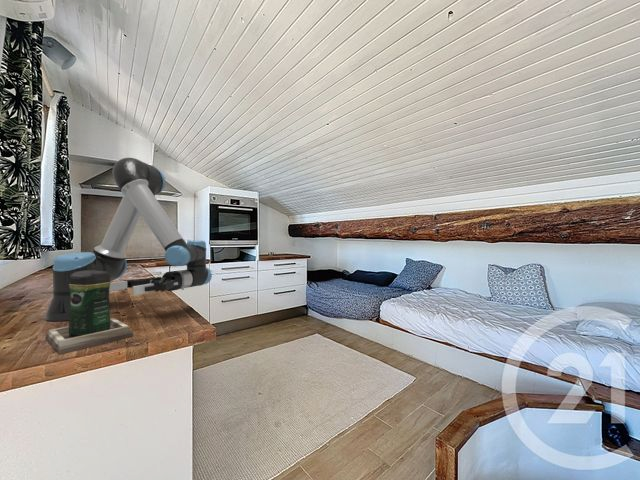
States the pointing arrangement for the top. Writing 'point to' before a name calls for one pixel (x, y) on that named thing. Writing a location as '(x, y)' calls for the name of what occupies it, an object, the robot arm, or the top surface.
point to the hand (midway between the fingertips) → (119, 289)
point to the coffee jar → (89, 302)
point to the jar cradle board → (87, 337)
